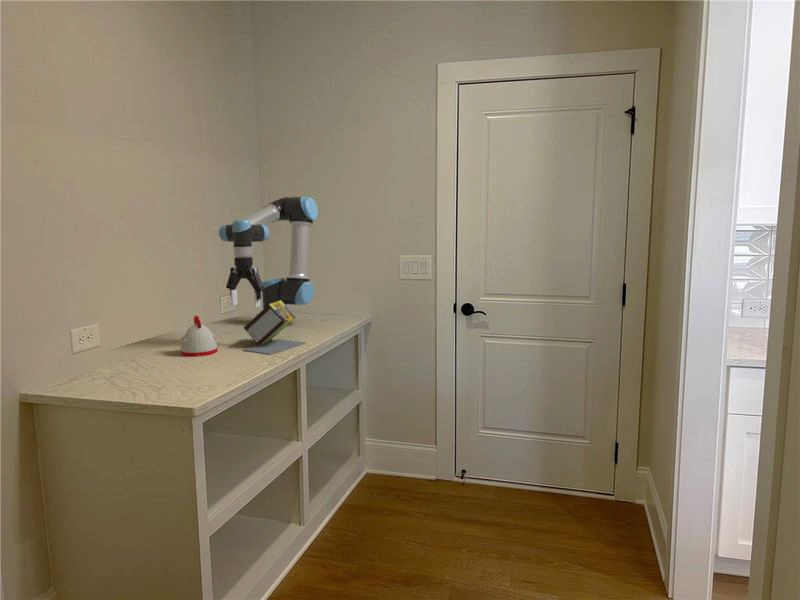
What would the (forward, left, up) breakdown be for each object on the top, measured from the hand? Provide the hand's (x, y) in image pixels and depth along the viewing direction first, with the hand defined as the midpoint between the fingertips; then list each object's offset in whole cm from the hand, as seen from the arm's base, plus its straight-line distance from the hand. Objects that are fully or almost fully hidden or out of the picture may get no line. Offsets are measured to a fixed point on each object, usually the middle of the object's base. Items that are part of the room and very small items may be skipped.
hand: (246, 305), depth 233 cm
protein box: (-1, +5, -12) cm, 13 cm away
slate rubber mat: (+1, +17, -16) cm, 23 cm away
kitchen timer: (+22, -5, -16) cm, 28 cm away
